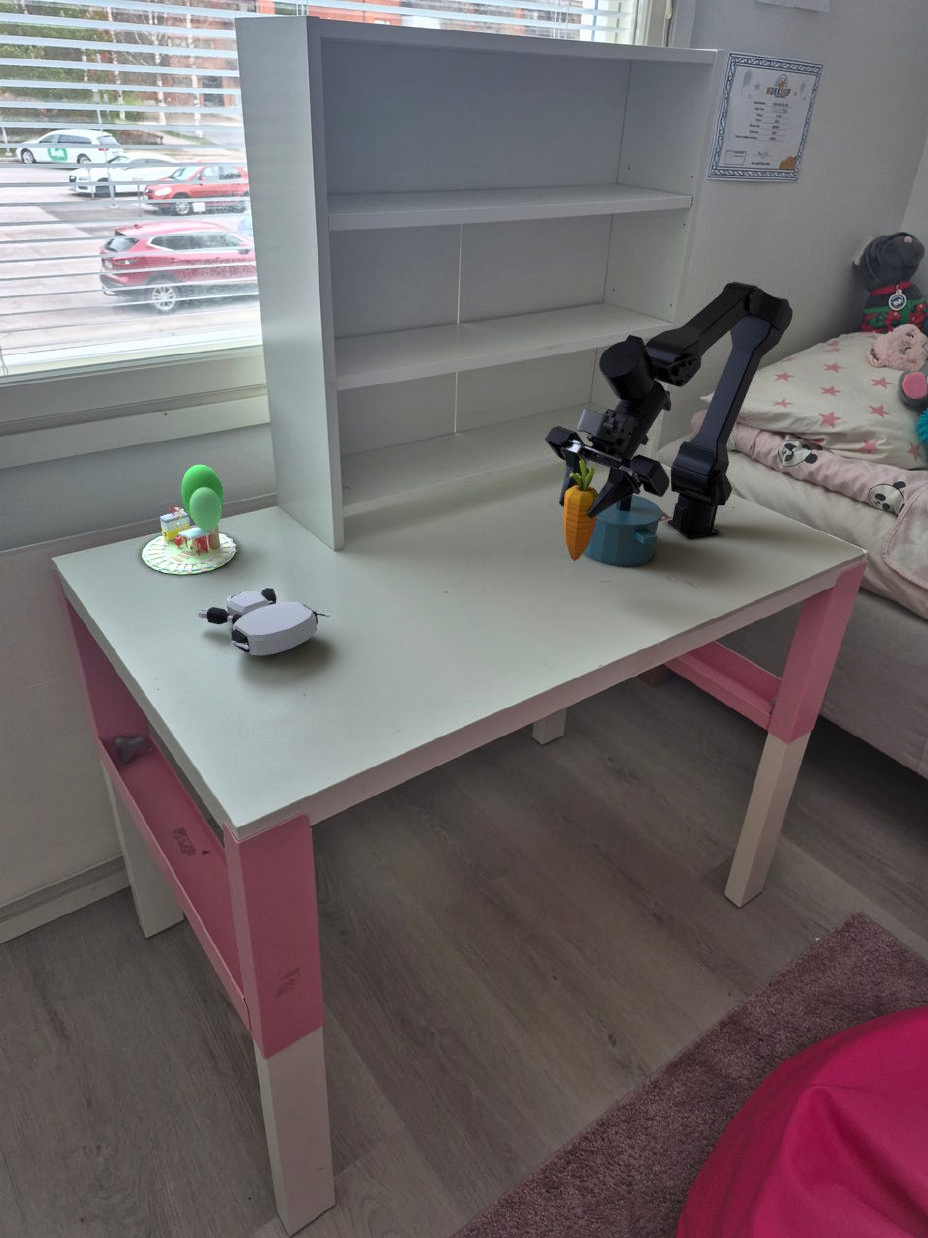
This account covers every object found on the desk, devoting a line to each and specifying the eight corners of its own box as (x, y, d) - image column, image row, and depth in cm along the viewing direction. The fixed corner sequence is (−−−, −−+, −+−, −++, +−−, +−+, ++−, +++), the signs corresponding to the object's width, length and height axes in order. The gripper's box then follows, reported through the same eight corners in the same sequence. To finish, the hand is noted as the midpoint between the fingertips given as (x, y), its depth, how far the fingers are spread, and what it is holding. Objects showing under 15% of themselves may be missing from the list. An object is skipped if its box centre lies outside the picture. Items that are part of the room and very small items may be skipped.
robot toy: (194, 632, 115) (253, 676, 106) (189, 602, 113) (248, 644, 104) (274, 603, 123) (335, 642, 113) (270, 574, 121) (332, 611, 111)
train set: (125, 455, 130) (220, 447, 134) (138, 536, 137) (228, 525, 141) (132, 493, 118) (236, 483, 123) (146, 580, 125) (244, 567, 130)
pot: (620, 524, 149) (625, 486, 146) (675, 568, 136) (683, 528, 133) (561, 532, 145) (566, 494, 142) (612, 578, 132) (619, 538, 129)
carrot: (588, 571, 124) (601, 473, 116) (554, 565, 125) (565, 468, 117) (593, 555, 128) (606, 460, 120) (560, 550, 129) (571, 455, 121)
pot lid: (634, 495, 144) (637, 475, 143) (676, 525, 135) (680, 504, 133) (570, 503, 140) (572, 482, 138) (608, 535, 131) (611, 513, 129)
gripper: (560, 369, 121) (501, 462, 120) (672, 403, 110) (608, 506, 109) (588, 412, 130) (533, 499, 129) (694, 448, 119) (635, 543, 118)
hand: (574, 510), depth 121 cm, fingers closed on carrot, 5 cm apart
